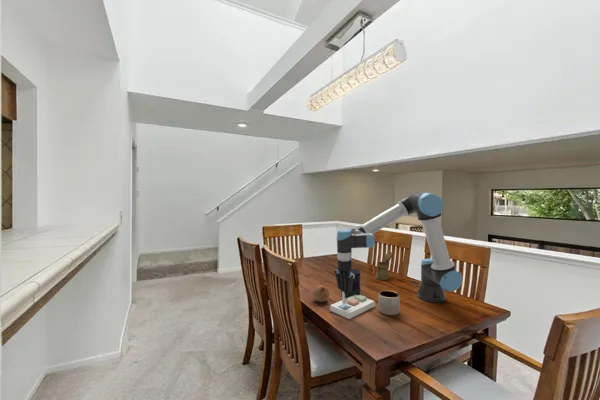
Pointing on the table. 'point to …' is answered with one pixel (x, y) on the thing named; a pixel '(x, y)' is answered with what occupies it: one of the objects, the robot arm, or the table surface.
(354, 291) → the navy blue cylinder
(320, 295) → the onion
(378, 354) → the table surface
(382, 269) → the wooden mug
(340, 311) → the button panel
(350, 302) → the button three dots
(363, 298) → the button two dots
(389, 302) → the planter
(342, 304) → the button one dot
